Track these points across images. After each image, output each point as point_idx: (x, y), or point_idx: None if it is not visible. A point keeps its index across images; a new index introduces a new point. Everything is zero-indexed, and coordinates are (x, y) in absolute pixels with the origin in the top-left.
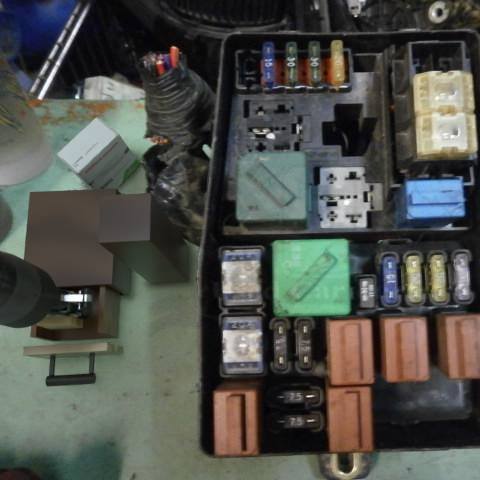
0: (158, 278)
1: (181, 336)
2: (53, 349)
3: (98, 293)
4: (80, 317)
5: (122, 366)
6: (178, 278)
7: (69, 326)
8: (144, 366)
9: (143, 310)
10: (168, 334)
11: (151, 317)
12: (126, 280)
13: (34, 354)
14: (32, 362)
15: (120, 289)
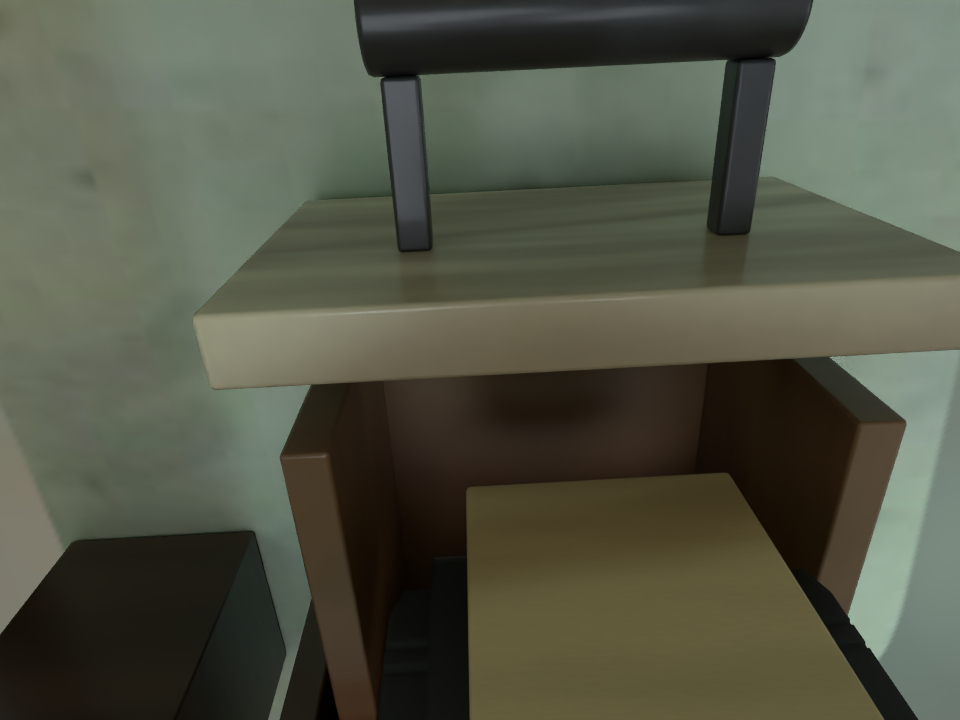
0: (135, 633)
1: (9, 295)
2: (714, 326)
3: None
4: (432, 661)
5: (314, 120)
6: (43, 619)
7: (543, 569)
8: (175, 118)
9: (262, 422)
10: (89, 306)
11: (211, 390)
12: None
13: (900, 281)
14: (853, 152)
15: (308, 614)
